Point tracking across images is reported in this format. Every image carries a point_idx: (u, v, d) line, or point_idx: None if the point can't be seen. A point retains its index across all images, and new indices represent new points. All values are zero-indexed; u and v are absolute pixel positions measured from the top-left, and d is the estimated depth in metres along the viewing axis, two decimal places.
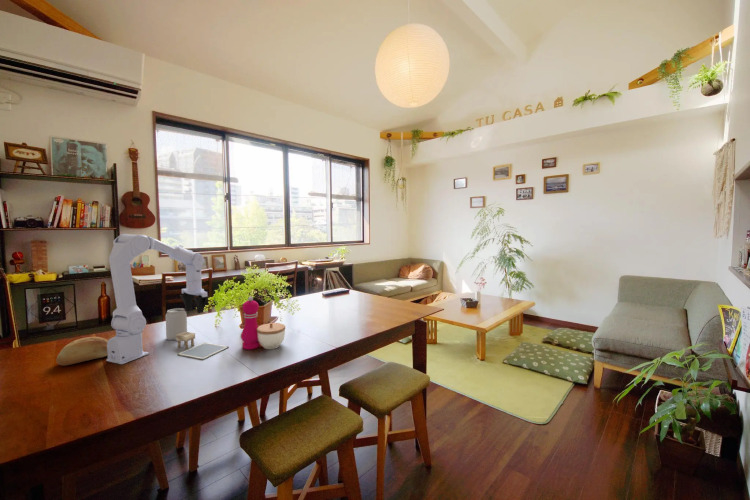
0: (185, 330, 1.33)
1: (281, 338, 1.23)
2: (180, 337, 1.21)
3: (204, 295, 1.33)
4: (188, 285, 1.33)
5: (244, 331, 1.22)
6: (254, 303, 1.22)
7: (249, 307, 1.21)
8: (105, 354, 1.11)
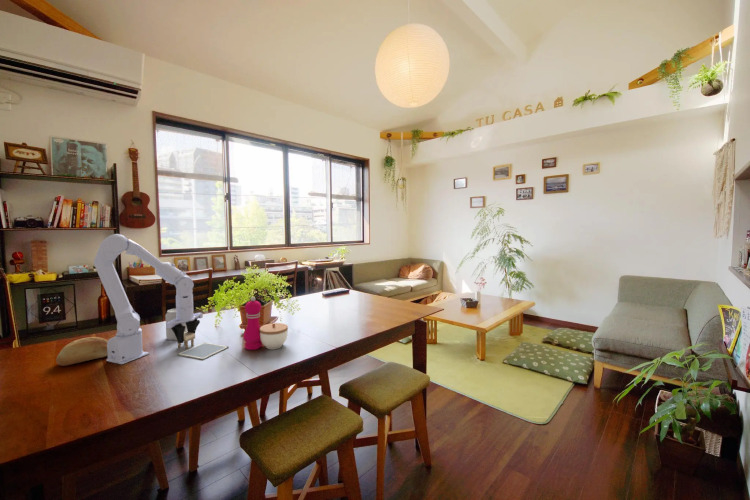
0: (185, 330, 1.33)
1: (284, 338, 1.23)
2: None
3: (166, 326, 1.16)
4: None
5: (246, 332, 1.21)
6: (257, 303, 1.22)
7: (252, 307, 1.20)
8: (105, 354, 1.11)
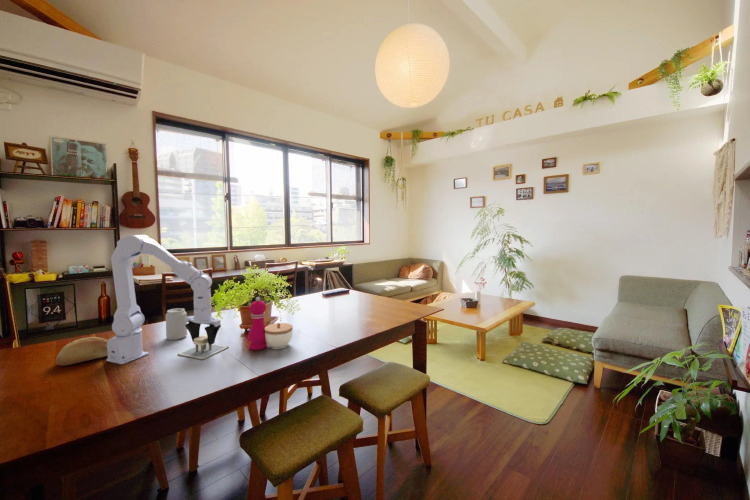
0: (185, 330, 1.33)
1: (289, 338, 1.23)
2: (206, 340, 1.18)
3: (217, 324, 1.16)
4: (197, 313, 1.15)
5: (251, 332, 1.21)
6: (262, 303, 1.22)
7: (257, 308, 1.20)
8: (105, 354, 1.11)
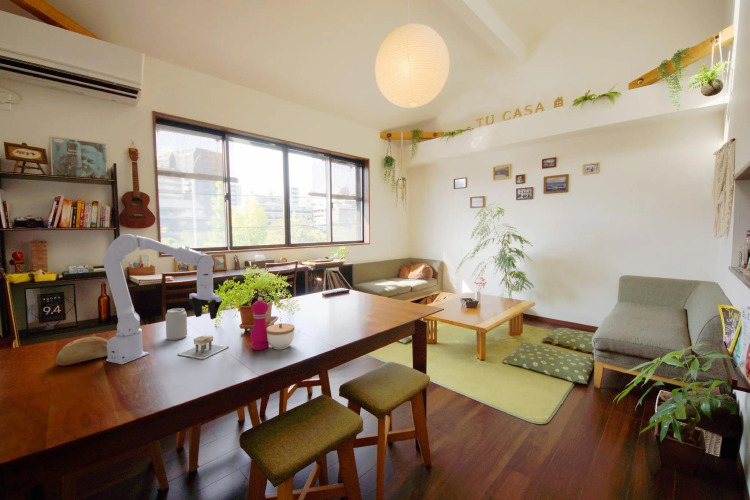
0: (185, 330, 1.33)
1: (290, 338, 1.23)
2: (206, 340, 1.18)
3: (219, 300, 1.24)
4: (200, 289, 1.23)
5: (253, 332, 1.21)
6: (263, 303, 1.22)
7: (259, 308, 1.20)
8: (104, 354, 1.11)
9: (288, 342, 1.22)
